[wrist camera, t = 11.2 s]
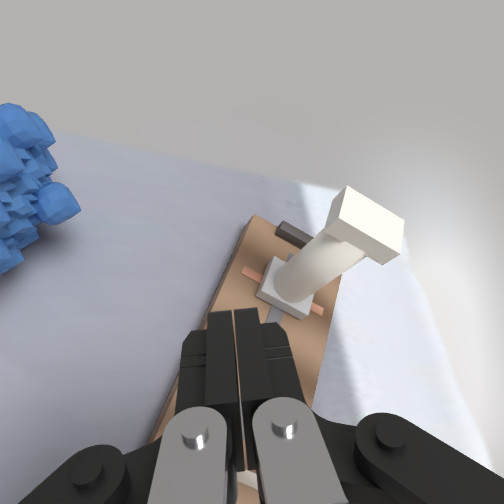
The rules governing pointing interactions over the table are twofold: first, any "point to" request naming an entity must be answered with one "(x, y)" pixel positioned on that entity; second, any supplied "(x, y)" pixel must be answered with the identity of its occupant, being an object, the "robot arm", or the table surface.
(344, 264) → the fader
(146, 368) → the table surface
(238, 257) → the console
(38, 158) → the grapes
